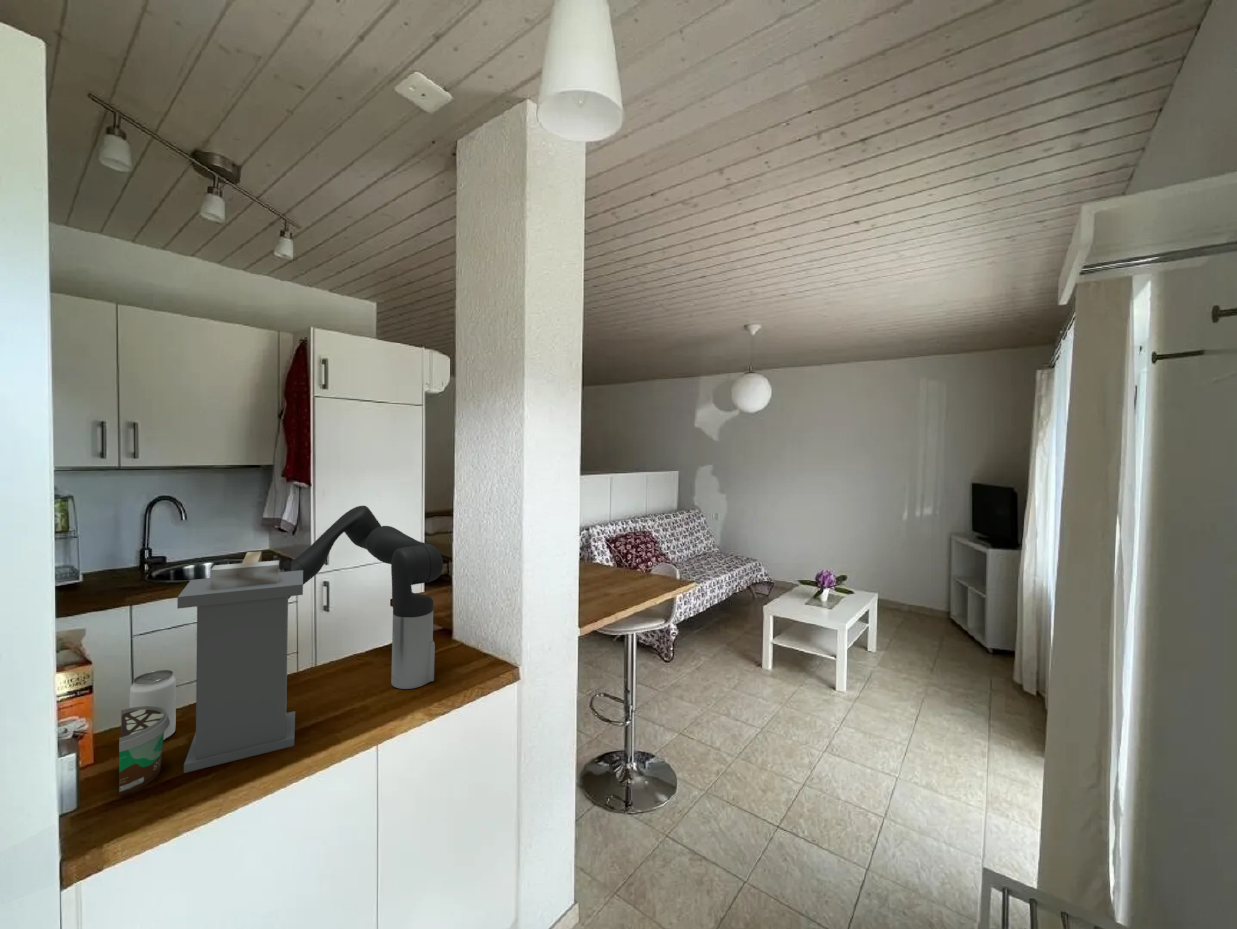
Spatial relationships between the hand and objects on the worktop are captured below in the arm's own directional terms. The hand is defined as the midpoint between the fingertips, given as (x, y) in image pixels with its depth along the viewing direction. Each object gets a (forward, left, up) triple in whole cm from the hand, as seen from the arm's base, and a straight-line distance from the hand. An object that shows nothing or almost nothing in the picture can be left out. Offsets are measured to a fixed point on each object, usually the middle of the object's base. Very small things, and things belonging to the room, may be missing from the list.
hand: (250, 561), depth 105 cm
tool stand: (0, +14, -32) cm, 35 cm away
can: (+15, +4, -32) cm, 36 cm away
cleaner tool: (0, +7, -1) cm, 7 cm away
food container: (+13, +17, -32) cm, 39 cm away
